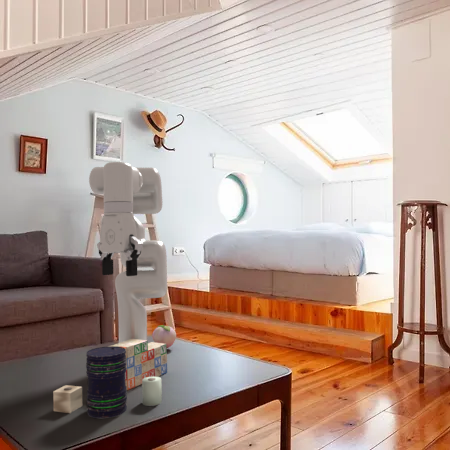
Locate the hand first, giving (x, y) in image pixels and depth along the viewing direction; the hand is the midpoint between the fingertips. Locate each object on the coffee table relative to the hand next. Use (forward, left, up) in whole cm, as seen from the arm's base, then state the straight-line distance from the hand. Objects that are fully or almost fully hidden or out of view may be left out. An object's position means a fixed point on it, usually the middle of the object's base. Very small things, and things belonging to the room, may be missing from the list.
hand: (119, 275), depth 121 cm
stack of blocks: (-10, +17, -34) cm, 39 cm away
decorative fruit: (-27, +49, -34) cm, 66 cm away
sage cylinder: (+6, +5, -34) cm, 35 cm away
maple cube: (-10, -9, -34) cm, 36 cm away
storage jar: (0, -5, -34) cm, 34 cm away
